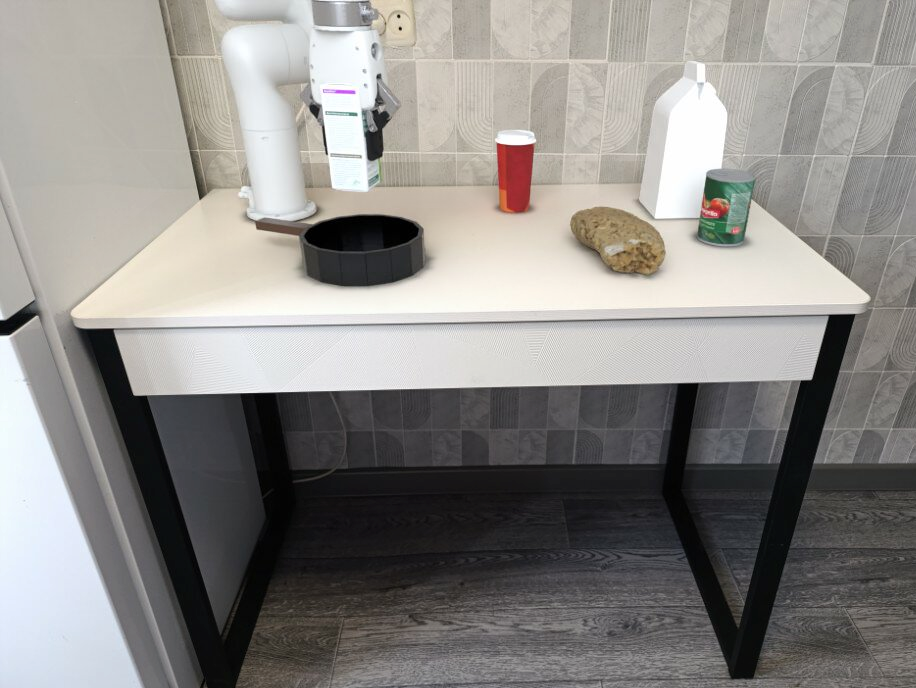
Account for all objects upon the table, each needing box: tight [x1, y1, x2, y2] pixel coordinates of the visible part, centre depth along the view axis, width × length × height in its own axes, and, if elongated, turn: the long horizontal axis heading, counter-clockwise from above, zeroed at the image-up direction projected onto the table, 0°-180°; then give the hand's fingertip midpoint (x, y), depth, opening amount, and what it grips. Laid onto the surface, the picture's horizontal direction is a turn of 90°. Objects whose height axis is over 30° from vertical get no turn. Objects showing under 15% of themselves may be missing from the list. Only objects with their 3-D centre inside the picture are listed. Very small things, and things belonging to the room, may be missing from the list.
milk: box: [638, 60, 728, 220], centre depth 128 cm, size 12×12×26 cm
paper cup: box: [494, 129, 537, 214], centre depth 130 cm, size 8×8×14 cm
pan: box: [254, 213, 426, 287], centre depth 108 cm, size 28×18×5 cm, turn 68°
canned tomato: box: [696, 168, 757, 248], centre depth 116 cm, size 8×8×11 cm
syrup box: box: [320, 83, 383, 193], centre depth 99 cm, size 6×6×14 cm
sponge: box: [569, 206, 667, 276], centre depth 110 cm, size 13×8×20 cm
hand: (354, 154), depth 100 cm, fingers closed on syrup box, 6 cm apart
